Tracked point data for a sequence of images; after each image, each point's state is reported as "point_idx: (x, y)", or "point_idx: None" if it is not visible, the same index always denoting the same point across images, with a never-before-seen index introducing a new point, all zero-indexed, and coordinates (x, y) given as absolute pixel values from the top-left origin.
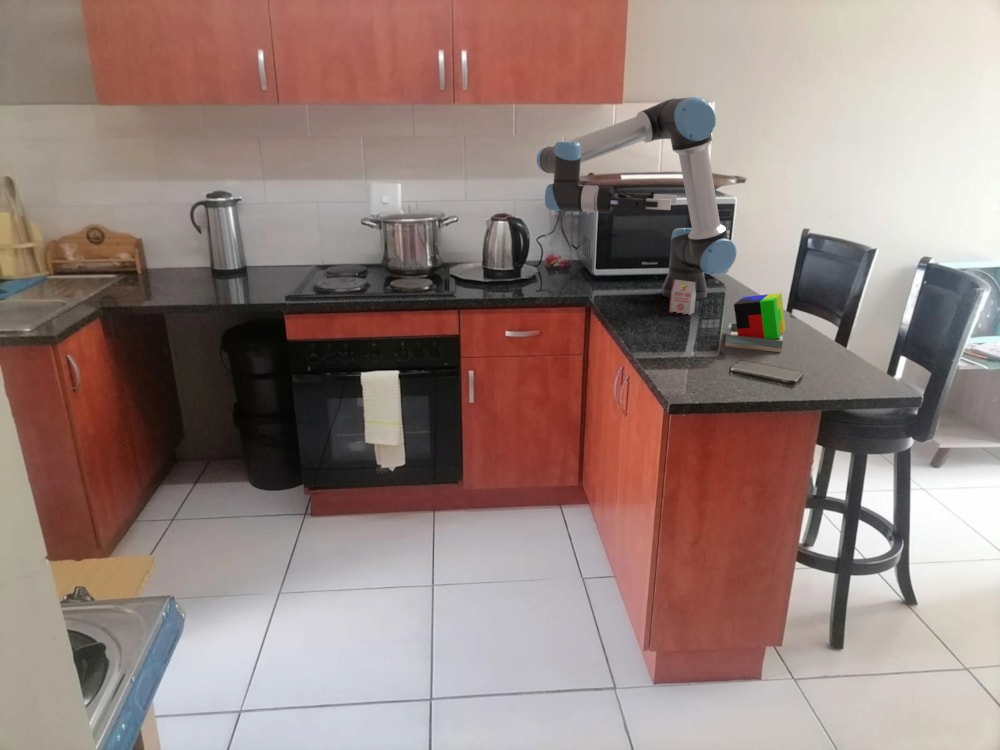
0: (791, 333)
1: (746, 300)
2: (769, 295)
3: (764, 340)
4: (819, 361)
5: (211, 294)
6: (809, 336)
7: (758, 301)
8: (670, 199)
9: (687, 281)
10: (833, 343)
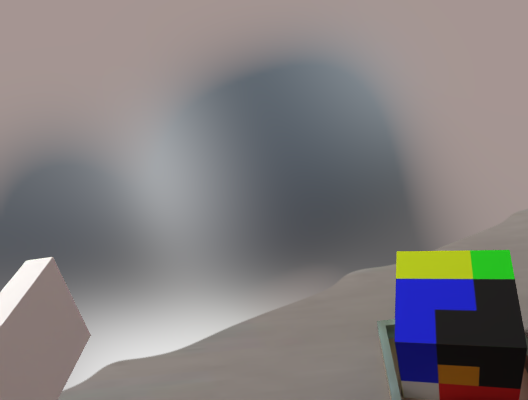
0: (325, 328)
1: (469, 320)
2: (418, 272)
3: (526, 338)
4: (520, 273)
5: None
6: (334, 302)
7: (510, 283)
8: (43, 338)
9: None
10: (367, 270)
